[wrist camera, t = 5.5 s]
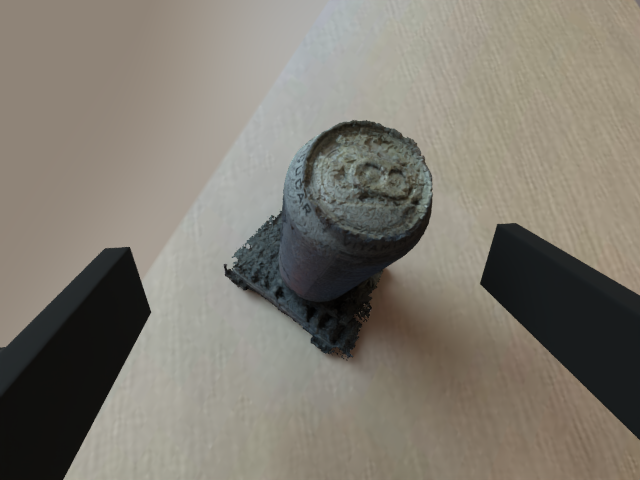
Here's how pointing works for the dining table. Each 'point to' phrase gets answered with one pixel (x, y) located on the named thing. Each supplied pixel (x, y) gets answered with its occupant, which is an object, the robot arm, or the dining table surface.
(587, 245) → the dining table surface
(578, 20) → the dining table surface
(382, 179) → the beverage can
